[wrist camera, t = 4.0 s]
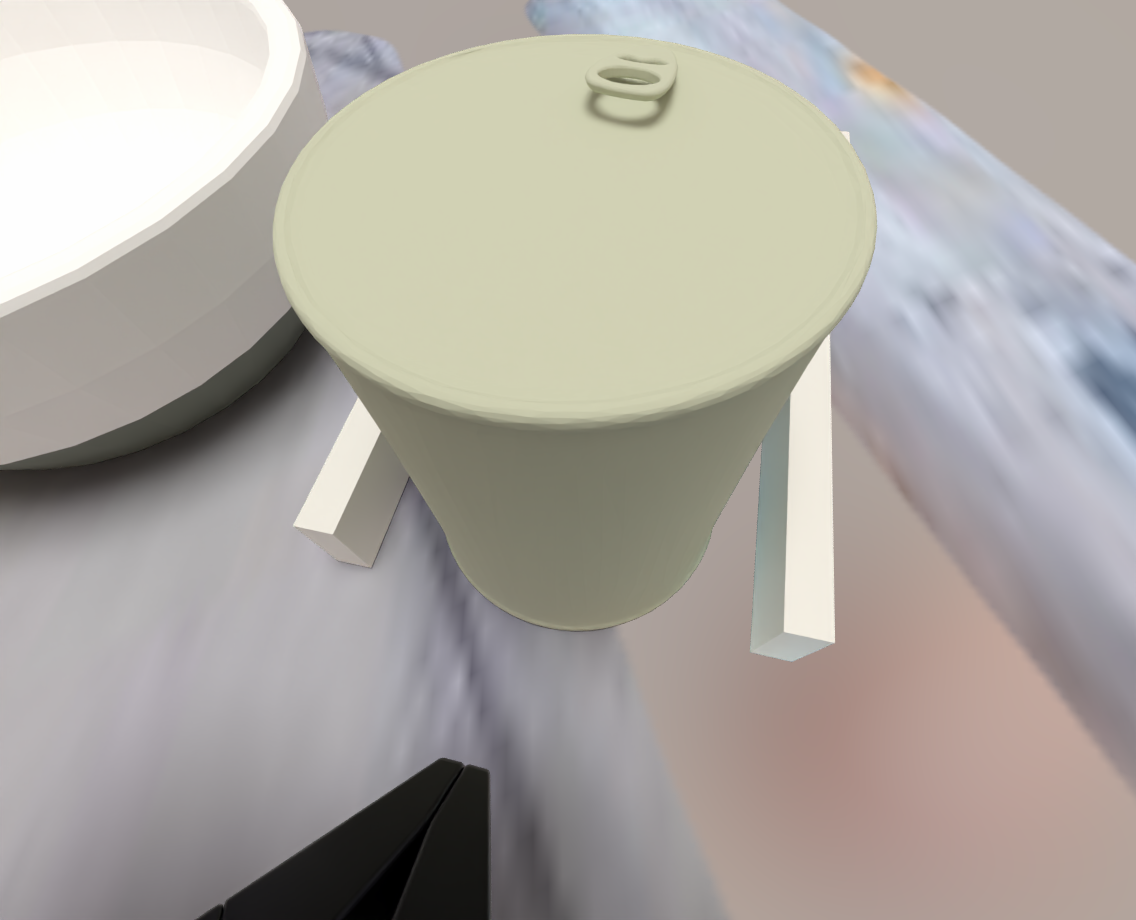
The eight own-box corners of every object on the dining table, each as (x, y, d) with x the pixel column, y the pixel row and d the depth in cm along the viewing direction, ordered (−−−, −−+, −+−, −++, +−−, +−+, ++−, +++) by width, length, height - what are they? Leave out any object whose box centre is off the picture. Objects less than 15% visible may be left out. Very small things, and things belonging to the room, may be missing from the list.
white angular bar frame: (792, 661, 15) (874, 625, 11) (337, 560, 17) (253, 494, 13) (800, 245, 24) (849, 132, 20) (495, 207, 26) (477, 96, 21)
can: (741, 429, 19) (930, 45, 9) (666, 681, 15) (848, 524, 5) (513, 358, 21) (445, -28, 11) (392, 565, 17) (92, 270, 7)
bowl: (489, 287, 23) (447, 74, 16) (-67, 691, 16) (-631, 637, 8) (232, 105, 31) (124, -94, 24) (-223, 316, 24) (-585, 119, 16)
